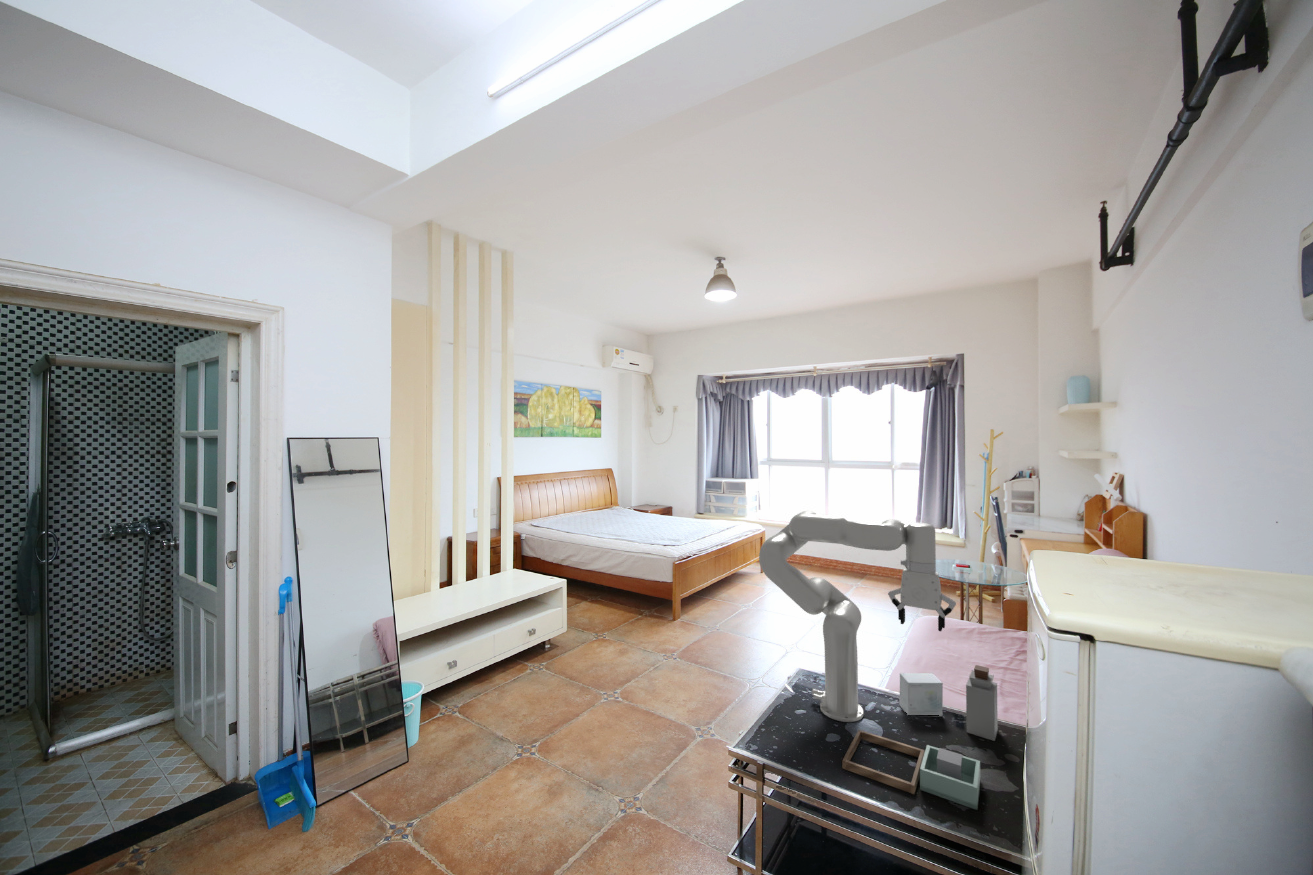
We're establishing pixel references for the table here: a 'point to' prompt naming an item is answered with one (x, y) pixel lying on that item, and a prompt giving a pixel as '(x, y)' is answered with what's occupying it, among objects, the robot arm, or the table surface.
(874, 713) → the table surface
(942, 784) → the sage green bin
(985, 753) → the table surface
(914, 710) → the skincare box
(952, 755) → the stone block
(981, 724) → the perfume bottle
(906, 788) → the brown wooden frame
